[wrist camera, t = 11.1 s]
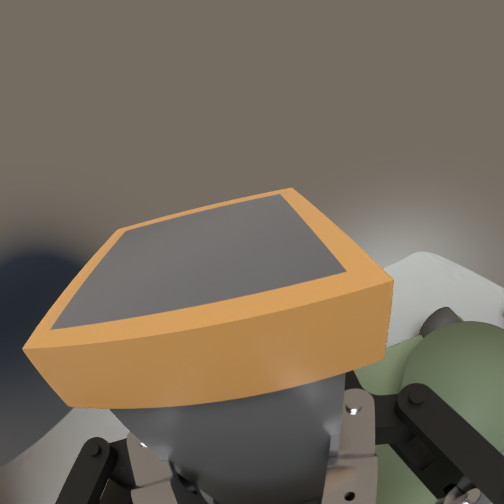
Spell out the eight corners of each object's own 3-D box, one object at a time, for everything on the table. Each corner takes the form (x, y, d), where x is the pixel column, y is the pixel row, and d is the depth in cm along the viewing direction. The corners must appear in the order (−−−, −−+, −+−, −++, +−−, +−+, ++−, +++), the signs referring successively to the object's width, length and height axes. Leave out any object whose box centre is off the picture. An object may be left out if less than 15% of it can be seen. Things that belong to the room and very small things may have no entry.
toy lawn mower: (216, 587, 6) (183, 594, 4) (207, 405, 21) (186, 369, 19) (541, 447, 6) (577, 411, 4) (453, 330, 21) (465, 288, 19)
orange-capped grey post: (227, 520, 9) (22, 349, 3) (222, 437, 15) (117, 229, 9) (341, 500, 9) (394, 280, 3) (316, 419, 15) (291, 187, 9)
